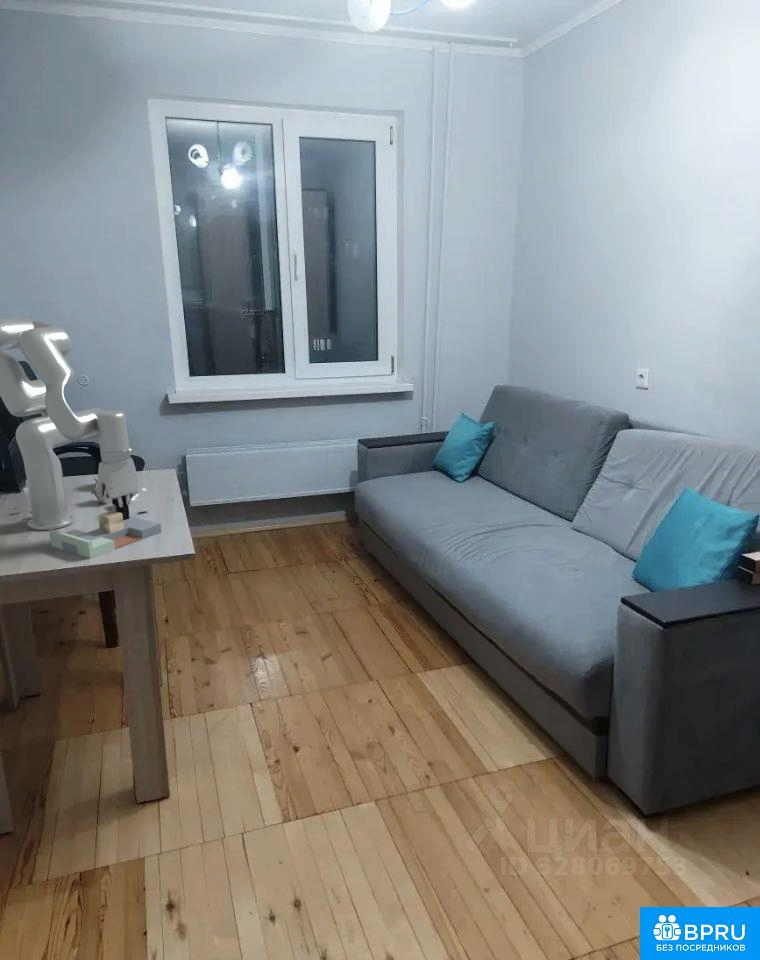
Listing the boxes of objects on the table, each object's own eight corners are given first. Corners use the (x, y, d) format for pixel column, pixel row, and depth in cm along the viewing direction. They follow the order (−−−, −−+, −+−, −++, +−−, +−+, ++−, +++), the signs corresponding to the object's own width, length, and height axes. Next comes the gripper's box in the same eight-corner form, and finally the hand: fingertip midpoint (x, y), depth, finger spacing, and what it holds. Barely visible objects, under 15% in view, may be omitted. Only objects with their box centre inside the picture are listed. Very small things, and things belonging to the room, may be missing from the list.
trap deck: (51, 546, 186) (49, 530, 185) (122, 521, 205) (121, 507, 203) (90, 558, 177) (88, 542, 176) (161, 532, 196) (159, 517, 194)
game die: (111, 514, 223) (111, 495, 216) (86, 505, 223) (85, 486, 215) (124, 494, 229) (124, 475, 222) (99, 485, 229) (99, 466, 222)
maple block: (100, 530, 190) (98, 515, 189) (113, 525, 194) (111, 510, 192) (110, 533, 188) (108, 518, 187) (124, 528, 191) (122, 513, 190)
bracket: (149, 513, 213) (146, 490, 211) (125, 517, 209) (122, 493, 207) (137, 502, 223) (135, 480, 221) (115, 506, 220) (112, 484, 218)
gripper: (129, 448, 197) (136, 509, 202) (83, 460, 185) (92, 524, 190) (146, 451, 193) (153, 513, 198) (101, 463, 181) (110, 528, 186)
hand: (123, 518), depth 194 cm, fingers closed
